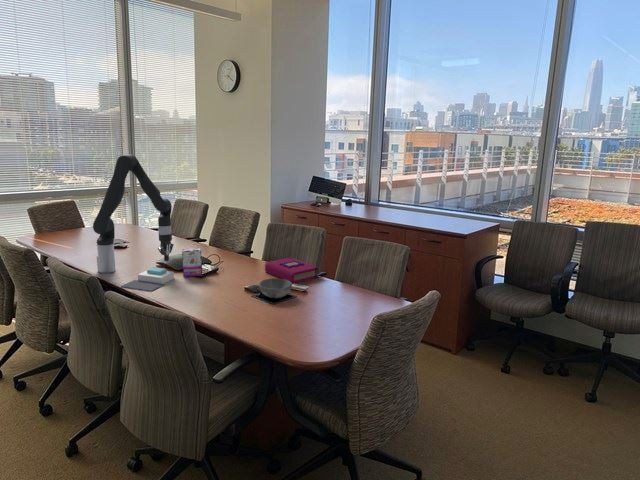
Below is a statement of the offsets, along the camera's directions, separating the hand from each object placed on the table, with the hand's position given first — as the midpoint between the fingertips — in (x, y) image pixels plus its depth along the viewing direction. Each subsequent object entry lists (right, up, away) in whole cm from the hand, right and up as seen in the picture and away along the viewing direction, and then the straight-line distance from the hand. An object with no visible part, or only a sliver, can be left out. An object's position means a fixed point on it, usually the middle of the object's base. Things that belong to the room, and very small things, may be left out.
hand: (166, 260), depth 287 cm
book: (+75, -10, +9) cm, 76 cm away
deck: (-4, -11, -8) cm, 14 cm away
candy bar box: (+15, -9, +2) cm, 18 cm away
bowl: (+68, -18, -29) cm, 76 cm away
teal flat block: (-3, -7, -8) cm, 11 cm away
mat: (-7, -13, -19) cm, 25 cm away
